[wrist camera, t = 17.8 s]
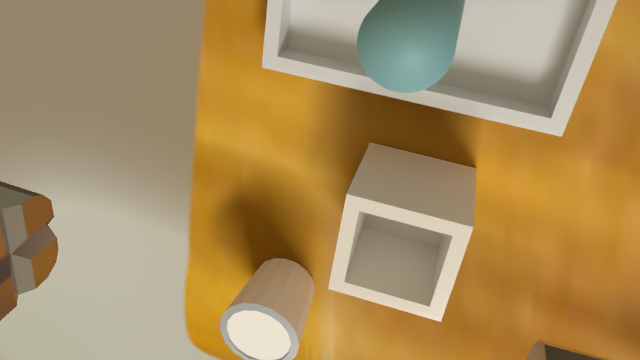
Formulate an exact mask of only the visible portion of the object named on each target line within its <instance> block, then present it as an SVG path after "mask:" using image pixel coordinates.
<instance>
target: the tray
mask: <svg viewBox="0 0 640 360" xmlns="http://www.w3.org/2000/svg"><path fill="white" fill-rule="evenodd" d="M378 1H379V0H268V3H267V14H266V26H265V37H264V49H263V60H262V68H266V69H271V70H275V71H279V72H284V73H288V74H292V75H297V76H301V77H305V78H310V79H314V80H318V81H323V82H327V83H331V84H335V85H340V86H344V87H348V88H353V89H357V90H361V91H366V92H370V93H374V94H379V95H383V96H387V97H392V98H396V99H400V100H405V101H409V102H413V103H418V104H422V105H426V106H431V107H435V108H439V109H444V110H448V111H452V112H457V113H461V114H465V115H470V116H474V117H478V118H483V119H487V120H491V121H496V122H500V123H504V124H509V125H513V126H517V127H522V128H526V129H530V130H535V131H539V132H543V133H548V134H552V135H556V136H561V137H562V135H563V133H564V130H565V128H566V125H567V123H568V120H569V118H570V115H571V113H572V110H573V108H574V105H575V103H576V101H577V98H578V96H579V93H580V91H581V88H582V86H583V83H584V81H585V78H586V76H587V73H588V71H589V69H590V66H591V64H592V61H593V59H594V56H595V54H596V51H597V49H598V46H599V44H600V42H601V39H602V37H603V34H604V32H605V29H606V27H607V24H608V22H609V19H610V17H611V14H612V12H613V10H614V7H615V5H616V2H617V0H465V5H464V10H463V15H462V20H461V25H460V30H459V35H458V40H457V45H456V50H455V54H454V58H453V61H452V64H451V66H450V68H449V69H448V71H447V72H446V74H445V75H444V76H443V77H442V78H441V79H440V80H439V81H438V82H437V83H435V84H434V85H432V86H430V87H428V88H426V89H424V90H421V91H417V92H412V93H400V92H395V91H391V90H388V89H386V88H384V87H382V86H380V85H379V84H377V83H376V82H375V81H373V80H372V79H371V78H370V77H369V76H368V74H367V73H366V72H365V70H364V68H363V67H362V65H361V62H360V60H359V56H358V51H357V36H358V32H359V28H360V26H361V23H362V21H363V20H364V18H365V16H366V15H367V14H368V12H369V11H370V10H371V9H372V8H373V7H374V5H375V4H376V3H377V2H378Z"/></svg>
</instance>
